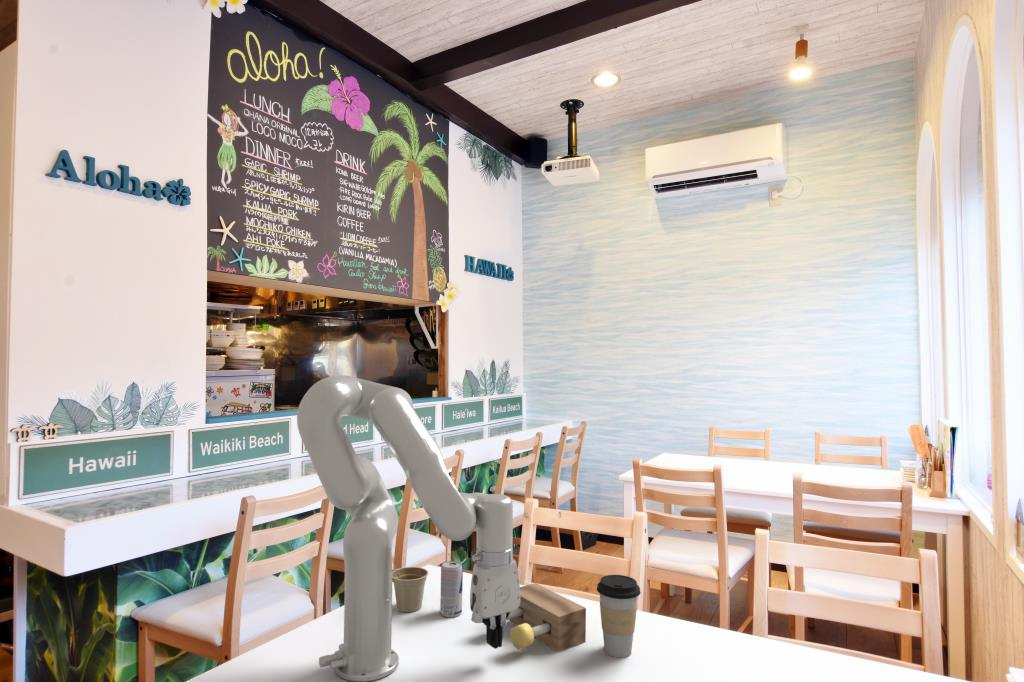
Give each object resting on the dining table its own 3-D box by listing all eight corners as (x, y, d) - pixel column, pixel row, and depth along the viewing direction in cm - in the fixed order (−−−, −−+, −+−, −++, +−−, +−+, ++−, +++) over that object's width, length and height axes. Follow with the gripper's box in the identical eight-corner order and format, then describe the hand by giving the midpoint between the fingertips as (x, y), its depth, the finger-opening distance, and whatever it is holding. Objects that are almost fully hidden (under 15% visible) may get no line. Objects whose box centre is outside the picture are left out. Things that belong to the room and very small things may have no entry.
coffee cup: (607, 664, 124) (607, 591, 125) (589, 643, 134) (590, 575, 134) (648, 658, 127) (648, 587, 127) (627, 638, 136) (628, 571, 136)
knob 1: (495, 634, 134) (495, 614, 134) (484, 626, 137) (484, 607, 137) (533, 621, 140) (534, 602, 140) (522, 615, 144) (522, 596, 144)
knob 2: (522, 652, 126) (522, 631, 126) (510, 644, 129) (510, 623, 129) (562, 638, 132) (562, 618, 132) (549, 630, 136) (549, 611, 136)
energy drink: (463, 609, 150) (464, 561, 151) (459, 618, 145) (460, 568, 145) (442, 608, 151) (443, 560, 151) (438, 617, 146) (438, 567, 146)
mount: (558, 651, 129) (558, 616, 130) (509, 621, 144) (509, 590, 144) (585, 641, 134) (585, 608, 134) (535, 613, 149) (535, 583, 149)
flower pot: (382, 612, 148) (383, 577, 148) (400, 598, 157) (401, 564, 157) (417, 618, 145) (418, 582, 145) (433, 602, 154) (434, 569, 154)
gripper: (474, 568, 117) (474, 663, 117) (534, 553, 126) (534, 642, 125) (454, 558, 123) (454, 648, 123) (512, 544, 132) (512, 628, 131)
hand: (494, 645), depth 124 cm, fingers closed
